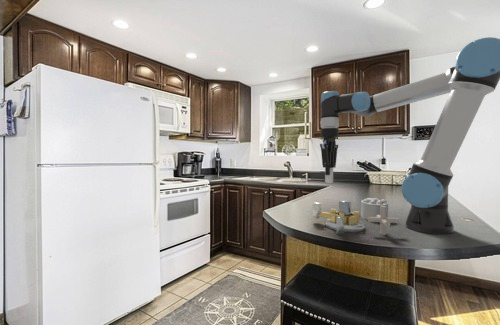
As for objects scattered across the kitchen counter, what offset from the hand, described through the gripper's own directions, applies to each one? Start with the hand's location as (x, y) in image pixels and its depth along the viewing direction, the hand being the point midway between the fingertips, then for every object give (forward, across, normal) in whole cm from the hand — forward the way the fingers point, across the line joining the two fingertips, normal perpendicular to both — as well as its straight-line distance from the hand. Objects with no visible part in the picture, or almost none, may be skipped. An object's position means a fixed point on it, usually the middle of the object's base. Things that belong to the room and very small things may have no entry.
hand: (329, 182), depth 111 cm
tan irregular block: (+14, +6, +6) cm, 17 cm away
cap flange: (+16, +6, +9) cm, 20 cm away
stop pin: (+16, +16, +12) cm, 26 cm away
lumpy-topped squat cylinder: (+17, -18, +14) cm, 28 cm away
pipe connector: (+17, +6, +23) cm, 29 cm away
